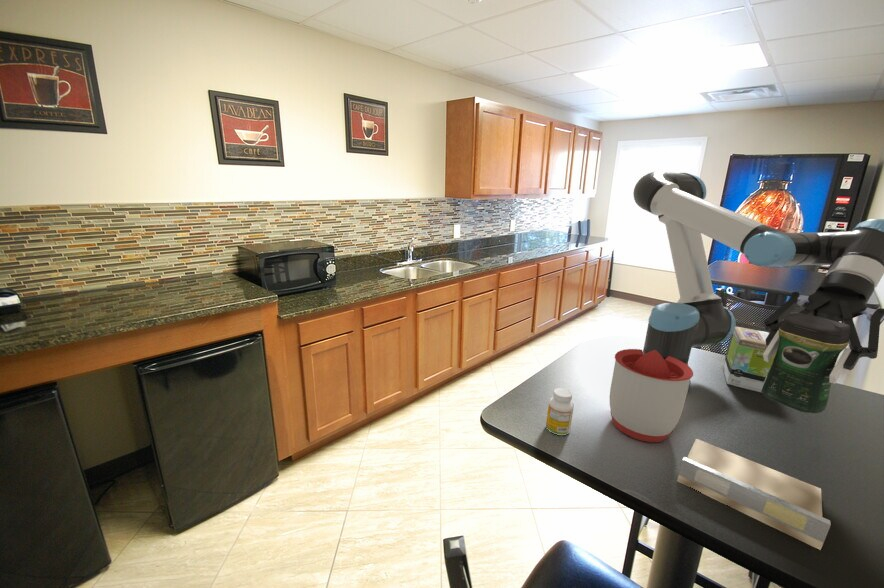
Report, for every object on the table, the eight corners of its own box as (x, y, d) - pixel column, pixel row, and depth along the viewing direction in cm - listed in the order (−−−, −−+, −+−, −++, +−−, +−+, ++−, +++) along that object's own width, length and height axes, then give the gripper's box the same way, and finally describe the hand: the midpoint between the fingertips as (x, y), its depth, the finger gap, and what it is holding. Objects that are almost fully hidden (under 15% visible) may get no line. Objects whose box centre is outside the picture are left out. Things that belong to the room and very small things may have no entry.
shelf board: (677, 481, 72) (678, 474, 72) (694, 444, 83) (696, 438, 83) (820, 550, 59) (823, 542, 58) (818, 495, 70) (821, 488, 70)
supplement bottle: (553, 419, 90) (558, 383, 88) (573, 430, 87) (579, 393, 84) (541, 428, 86) (546, 391, 84) (562, 440, 83) (568, 401, 80)
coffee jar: (830, 410, 74) (863, 323, 69) (811, 419, 71) (843, 328, 66) (773, 387, 83) (798, 308, 78) (753, 394, 79) (777, 311, 74)
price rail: (678, 475, 71) (682, 460, 70) (680, 471, 73) (684, 456, 72) (823, 544, 58) (830, 526, 57) (823, 538, 59) (830, 520, 58)
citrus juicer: (678, 420, 92) (696, 345, 87) (675, 459, 78) (697, 373, 73) (610, 399, 100) (623, 330, 95) (597, 432, 86) (611, 352, 81)
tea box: (769, 395, 106) (784, 347, 102) (726, 384, 111) (738, 338, 108) (760, 374, 119) (773, 331, 115) (721, 366, 124) (732, 324, 120)
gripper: (931, 308, 70) (878, 404, 66) (782, 282, 88) (734, 356, 84) (937, 284, 66) (881, 384, 62) (780, 261, 84) (729, 338, 80)
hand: (797, 368), depth 73 cm, fingers closed on coffee jar, 9 cm apart
